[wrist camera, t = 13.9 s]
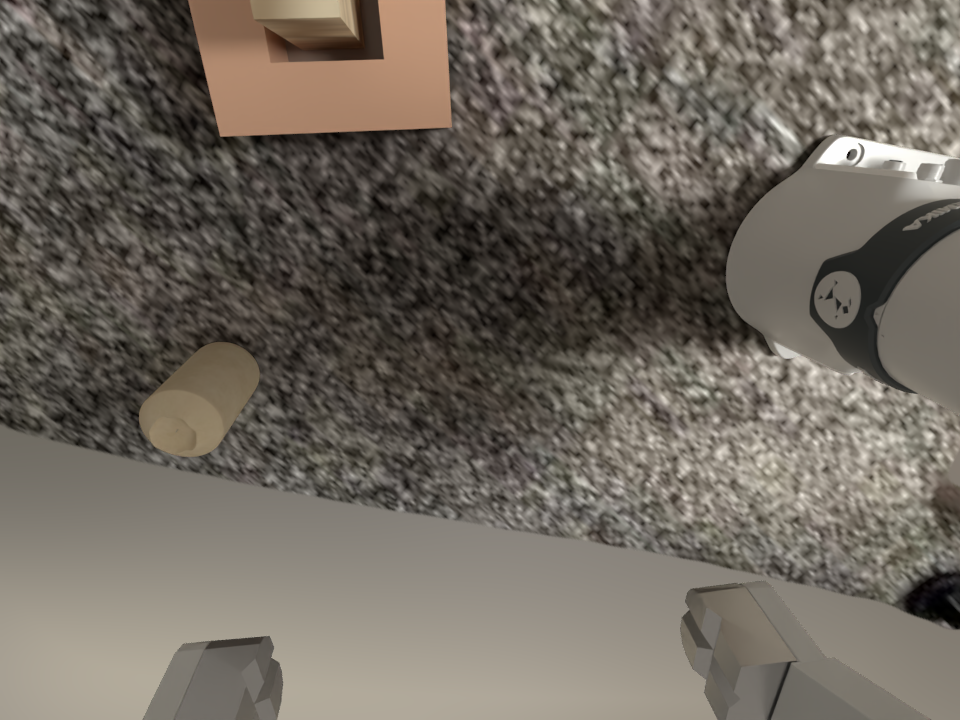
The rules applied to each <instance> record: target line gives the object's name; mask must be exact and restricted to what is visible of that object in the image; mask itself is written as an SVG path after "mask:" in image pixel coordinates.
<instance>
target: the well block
mask: <svg viewBox="0 0 960 720" xmlns="http://www.w3.org/2000/svg"><path fill="white" fill-rule="evenodd" d="M359 1H360V10H361V19H362V27H363V36H364V45H365V48H361V49H327V50H302V49H300V48H299V47H297V46H295V45H294V44H292V43H291V42H289V41H287V40H286V39H284V38H283V37H281V36H279V35H278V34H276V33H275V32H273V31H271V30H270V29H268V28H267V27H265V26H263V25H262V24H260V23H259V22H257V21H255V20H254V18H253V13H252V8H251V3H250V0H188V2H189V6H190V11H191V15H192V19H193V23H194V28H195V32H196V36H197V40H198V44H199V49H200V53H201V57H202V61H203V66H204V70H205V74H206V78H207V83H208V87H209V91H210V95H211V99H212V104H213V108H214V112H215V116H216V121H217V125H218V129H219V133H220V137H225V136H252V135H278V134H303V133H329V132H354V131H379V130H405V129H430V128H452V122H451V103H450V85H449V66H448V48H447V29H446V11H445V0H359Z"/></svg>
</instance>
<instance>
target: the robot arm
mask: <svg viewBox="0 0 960 720" xmlns="http://www.w3.org/2000/svg"><path fill="white" fill-rule="evenodd" d="M849 150H850V155H849V157H848V158H847V157H846V156H847V153H848V151H849ZM726 285H727V291H728V295H729V298H730V301H731V303H732V305H733V307H734V309H735V310H736V312H737V313H738V315H739V316H740V317H741V318H742V319H743V320H744V321H745V322H747V323H748V324H749V325H751V326H752V327H754V328H755V329H757V330H758V331H760V332H761V333H762V334H763V335H764V337H765V340H766V342H767V344H768V346H769V348H770V349H771V351H772V352H773V353H774V354H775V355H777V356H779V357H782V358H784V359H790V358H795V357H799V356H804V357H806V358H808V359H810V360H812V361H814V362H817V363H819V364H821V365H823V366H825V367H827V368H829V369H831V370H834V371H836V372H838V373H840V374H844V375H852V374H853V373H859V372H863V374H865V375H867V376H868V377H870V378H872V379H874V380H876V381H878V382H880V383H882V384H883V383H884V384H886V385H888V386H891V387H893V388H895V389H898V390H901V391H904V392H909V393H915V394H920V395H922V396H924V397H926V398H928V399H929V400H931V401H933V402H935V403H937V404H939V405H940V406H942V407H944V408H946V409H948V410H950V411H952V412H953V413H955V414H957V415H959V416H960V158H957V157H952V156H947V155H942V154H937V153H932V152H927V151H921V150H916V149H911V148H906V147H901V146H896V145H891V144H886V143H881V142H876V141H871V140H865V139H860V138H855V137H850V136H845V135H837V134H836V135H832V136H829V137H828V138H826V139H825V140H824V141H823V142H822V143H821V144H820V145H819V146H818V147H817V148H816V149H815V150H814V152H813V153H812V154H811V155H810V157H809V158H808V159H807V160H806V162H805V163H804V164H803V166H802V167H801V168H800V169H799V170H798V171H797V172H795V173H794V174H793V175H791V176H790V177H788V178H787V179H785V180H784V181H782V182H781V183H780V184H778V185H777V186H775V187H774V188H773V189H771V190H770V191H769V192H768V193H767V194H766V195H765V196H764V197H763V198H761V199H760V200H759V202H758V203H757V204H756V205H755V206H754V207H753V208H752V210H751V211H750V212H749V213H748V215H747V216H746V218H745V219H744V221H743V222H742V224H741V226H740V227H739V229H738V231H737V233H736V235H735V237H734V240H733V242H732V245H731V248H730V251H729V255H728V260H727V266H726ZM685 603H686V604H687V606H688V608H689V611H688V612H687V613H686V614H685V615H684V616H683V617H682V620H681V627H680V632H681V638H682V644H683V647H684V650H685V653H686V656H687V658H688V660H689V662H690V665H691V666H692V669H693V670H695V671H696V672H697V673H698V674H700V675H701V676H702V677H703V678H705V679H706V685H705V691H704V693H705V695H706V697H707V699H708V701H709V703H710V705H711V707H712V709H713V711H714V713H715V715H716V717H717V719H718V720H931V719H929V718H927V717H926V716H925V715H923V714H922V713H920V712H918V711H917V710H915V709H914V708H912V707H911V706H909V705H907V704H906V703H904V702H903V701H901V700H900V699H898V698H896V697H895V696H893V695H892V694H890V693H889V692H887V691H886V690H884V689H882V688H881V687H879V686H878V685H876V684H875V683H873V682H872V681H870V680H868V679H867V678H865V677H864V676H862V675H861V674H859V673H858V672H856V671H854V670H853V669H851V668H850V667H848V666H847V665H845V664H843V663H842V662H840V661H839V660H837V659H836V658H826V656H825V655H824V654H823V653H822V651H821V650H820V649H819V647H818V646H817V645H816V644H815V642H814V641H813V640H812V638H811V637H810V636H809V634H808V633H807V632H806V630H805V629H804V628H803V627H802V625H801V624H800V622H799V621H798V620H797V618H796V617H795V616H794V615H793V613H792V612H791V611H790V609H789V608H788V607H787V605H786V604H785V603H784V601H783V600H782V599H781V598H780V596H779V595H778V594H777V592H776V591H775V590H774V588H773V587H772V586H771V585H770V584H769V583H767V582H766V581H755V582H747V583H740V584H738V583H732V584H724V585H716V586H710V587H709V586H708V587H701V588H693V589H690V590H689V591H688V592H687V595H686V599H685ZM273 650H274V646H273V643H272V641H271V638H270V636H264V637H254V638H253V637H252V638H241V639H229V640H217V641H205V642H196V643H186V644H183V645H182V646H181V647H180V648H179V649H178V651H177V652H176V653H175V654H174V656H173V658H172V660H171V663H170V665H169V667H168V668H167V671H166V673H165V675H164V677H163V679H162V681H161V683H160V685H159V687H158V689H157V691H156V693H155V695H154V697H153V699H152V701H151V703H150V705H149V707H148V710H147V712H146V714H145V716H144V718H143V720H277V717H278V713H279V709H280V705H281V699H282V689H283V679H282V670H281V667H280V664H279V663H278V662H277V661H275V660H274V659H272V658H271V657H272V653H273Z"/></svg>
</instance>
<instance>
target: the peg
mask: <svg viewBox="0 0 960 720" xmlns="http://www.w3.org/2000/svg"><path fill="white" fill-rule="evenodd" d="M250 3H251V8H252V13H253V18H254V20H255V21H257V22H259V23H260V24H262V25H263V26H265V27H267V28H268V29H270V30H271V31H273V32H275V33H276V34H278V35H279V36H281V37H283V38H284V39H286V40H287V41H289V42H291V43H292V44H294V45H295V46H297V47H299V48H300V49H302V50H327V49H361V48H365V45H364V36H363V27H362V19H361V10H360V1H359V0H250Z"/></svg>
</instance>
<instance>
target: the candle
mask: <svg viewBox="0 0 960 720" xmlns="http://www.w3.org/2000/svg"><path fill="white" fill-rule="evenodd" d="M259 379H260V370H259V366H258V364H257V362H256V360H255V359H254V357H253V356H252V355H251V354H250V353H249V352H248V351H247V350H245V349H244V348H242V347H240V346H238V345H236V344H233V343H229V342H214V343H210V344H207V345H205V346H203V347H202V348H200V349H199V350H198V351H197V352H195V353H194V354H193V355H192V356H191V357H190V358H189V359H188V360H187V361H186V362H185V363H184V364H183V365H182V366H181V367H180V368H179V369H178V370H177V371H176V372H174V373H173V374H172V375H171V376H170V377H169V378H168V379H167V380H166V381H165V382H164V383H163V384H162V385H161V386H160V387H159V388H158V389H157V390H156V391H155V392H154V393H153V394H152V395H151V396H149V397H148V398H147V399H146V400H145V402H144V403H143V404H142V406H141V408H140V412H139V423H140V426H141V429H142V431H143V433H144V434H145V436H146V437H147V438H148V440H149V441H150V442H151V443H152V444H153V446H155V447H156V448H158V449H160V450H162V451H164V452H167V453H170V454H173V455H177V456H182V457H195V456H201V455H204V454H207V453H209V452H211V451H212V450H214V449H215V448H216V447H217V446H218V445H219V443H220V442H221V441H222V439H223V438H224V436H225V435H226V433H227V432H228V430H229V429H230V427H231V426H232V424H233V423H234V421H235V420H236V418H237V417H238V415H239V414H240V412H241V411H242V409H243V408H244V406H245V405H246V403H247V402H248V400H249V399H250V397H251V396H252V394H253V392H254V391H255V389H256V387H257V386H258V383H259Z"/></svg>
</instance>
